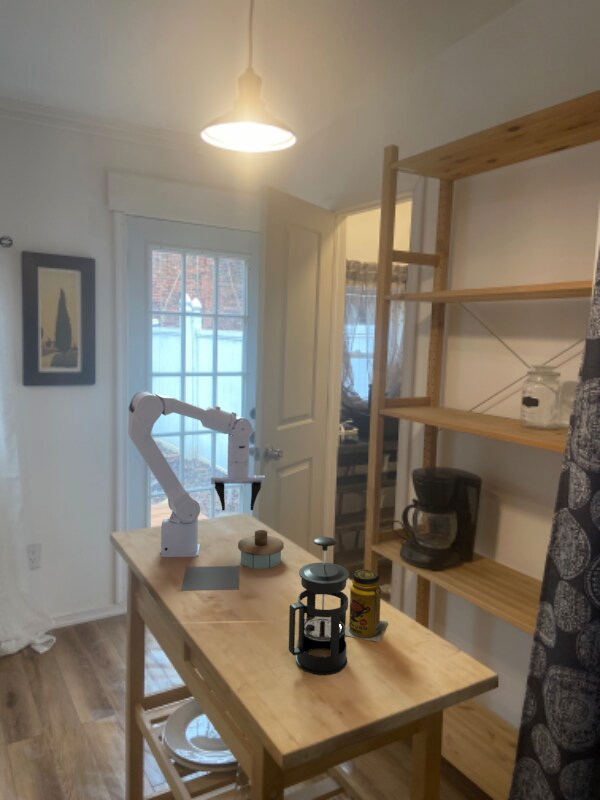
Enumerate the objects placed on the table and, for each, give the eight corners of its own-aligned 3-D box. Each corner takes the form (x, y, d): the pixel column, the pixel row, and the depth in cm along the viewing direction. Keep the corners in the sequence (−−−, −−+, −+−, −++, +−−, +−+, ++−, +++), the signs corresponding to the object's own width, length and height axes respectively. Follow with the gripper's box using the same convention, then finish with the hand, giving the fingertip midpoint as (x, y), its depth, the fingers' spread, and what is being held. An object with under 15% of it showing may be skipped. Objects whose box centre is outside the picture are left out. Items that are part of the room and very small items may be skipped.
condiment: (342, 635, 118) (344, 577, 117) (353, 616, 126) (355, 561, 124) (378, 643, 116) (381, 584, 114) (387, 622, 124) (390, 567, 122)
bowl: (241, 569, 148) (241, 554, 147) (240, 553, 158) (241, 539, 157) (281, 568, 149) (281, 553, 148) (278, 553, 159) (279, 538, 158)
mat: (181, 591, 135) (181, 590, 135) (186, 567, 148) (186, 566, 148) (238, 590, 136) (238, 589, 136) (239, 567, 149) (238, 565, 149)
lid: (236, 555, 146) (236, 540, 146) (239, 538, 158) (239, 524, 158) (283, 555, 147) (284, 540, 147) (283, 538, 158) (283, 524, 158)
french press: (333, 641, 116) (337, 526, 113) (360, 666, 107) (365, 543, 104) (278, 656, 110) (281, 535, 107) (302, 683, 102) (306, 554, 99)
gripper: (210, 464, 157) (210, 514, 159) (265, 464, 158) (264, 513, 160) (211, 457, 164) (211, 505, 165) (264, 458, 165) (263, 505, 167)
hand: (237, 509), depth 163 cm, fingers open, 7 cm apart
